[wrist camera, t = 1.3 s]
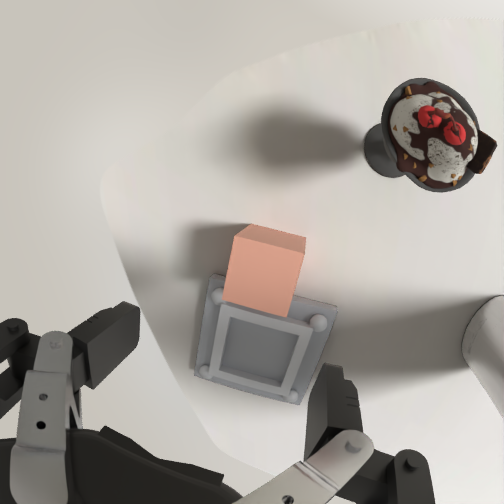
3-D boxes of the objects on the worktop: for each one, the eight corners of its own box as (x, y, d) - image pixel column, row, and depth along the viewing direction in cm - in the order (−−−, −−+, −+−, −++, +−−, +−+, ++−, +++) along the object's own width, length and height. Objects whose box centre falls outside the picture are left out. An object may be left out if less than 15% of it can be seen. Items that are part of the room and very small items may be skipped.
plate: (336, 306, 26) (338, 316, 24) (300, 398, 30) (298, 411, 28) (213, 273, 28) (206, 280, 26) (197, 369, 31) (191, 380, 29)
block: (306, 237, 26) (304, 253, 20) (291, 289, 27) (286, 317, 21) (251, 223, 26) (234, 235, 21) (240, 275, 28) (221, 299, 22)
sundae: (338, 139, 23) (377, 85, 9) (394, 101, 21) (473, 28, 7) (383, 202, 23) (469, 230, 9) (436, 162, 22) (547, 152, 7)
